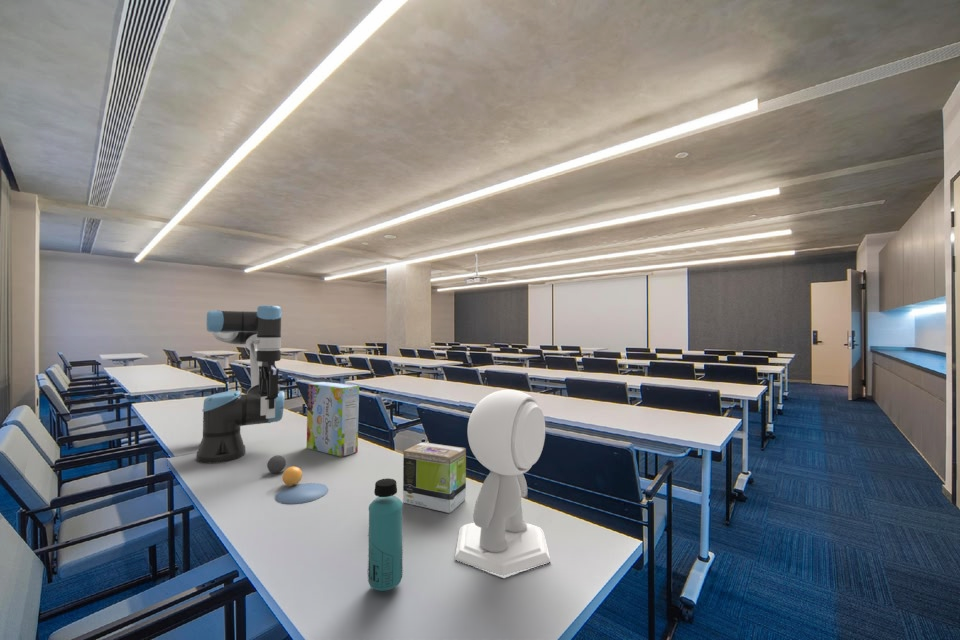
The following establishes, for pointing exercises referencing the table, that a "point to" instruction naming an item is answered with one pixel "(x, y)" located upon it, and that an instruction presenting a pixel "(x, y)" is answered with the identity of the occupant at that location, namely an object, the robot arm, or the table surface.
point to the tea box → (434, 476)
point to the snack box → (333, 418)
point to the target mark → (301, 493)
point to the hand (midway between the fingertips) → (267, 416)
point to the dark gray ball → (276, 464)
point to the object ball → (292, 476)
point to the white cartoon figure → (504, 484)
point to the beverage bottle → (385, 537)
